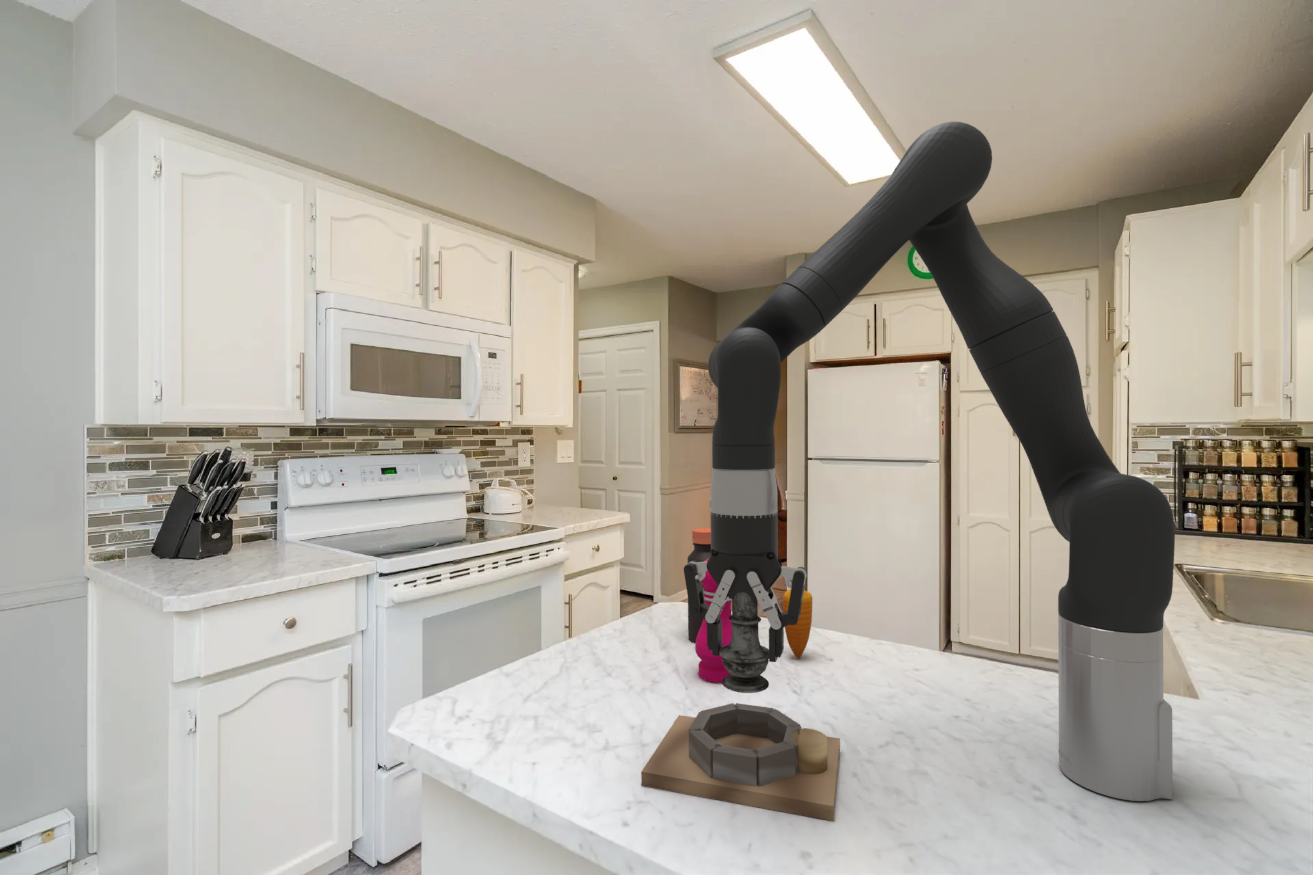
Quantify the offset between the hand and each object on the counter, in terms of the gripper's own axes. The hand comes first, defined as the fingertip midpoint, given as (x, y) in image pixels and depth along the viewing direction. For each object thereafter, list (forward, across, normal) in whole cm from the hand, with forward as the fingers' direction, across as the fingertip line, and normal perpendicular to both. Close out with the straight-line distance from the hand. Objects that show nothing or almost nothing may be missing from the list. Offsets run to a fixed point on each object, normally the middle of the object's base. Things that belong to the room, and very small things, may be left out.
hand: (744, 655), depth 70 cm
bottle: (+13, +15, -41) cm, 45 cm away
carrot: (+13, -2, -36) cm, 38 cm away
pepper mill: (+13, +9, -25) cm, 29 cm away
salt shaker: (+3, 0, 0) cm, 3 cm away
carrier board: (+13, 0, 0) cm, 13 cm away
